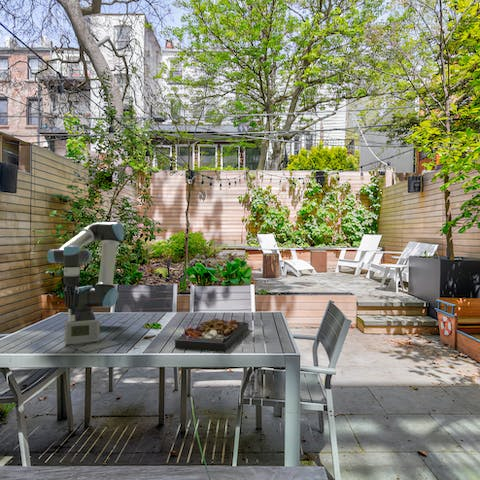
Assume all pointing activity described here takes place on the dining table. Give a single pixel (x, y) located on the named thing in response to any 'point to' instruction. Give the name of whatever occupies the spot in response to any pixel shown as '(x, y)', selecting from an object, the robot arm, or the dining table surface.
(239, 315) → the dining table surface
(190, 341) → the food platter
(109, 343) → the mat
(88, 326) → the digital clock
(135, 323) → the dining table surface
